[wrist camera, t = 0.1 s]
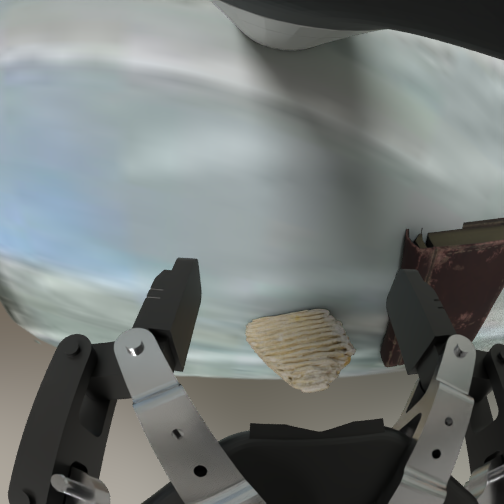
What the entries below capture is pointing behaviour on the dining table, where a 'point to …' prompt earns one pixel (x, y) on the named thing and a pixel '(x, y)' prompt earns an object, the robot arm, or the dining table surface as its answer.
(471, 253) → the diary
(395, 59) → the dining table surface
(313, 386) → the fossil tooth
